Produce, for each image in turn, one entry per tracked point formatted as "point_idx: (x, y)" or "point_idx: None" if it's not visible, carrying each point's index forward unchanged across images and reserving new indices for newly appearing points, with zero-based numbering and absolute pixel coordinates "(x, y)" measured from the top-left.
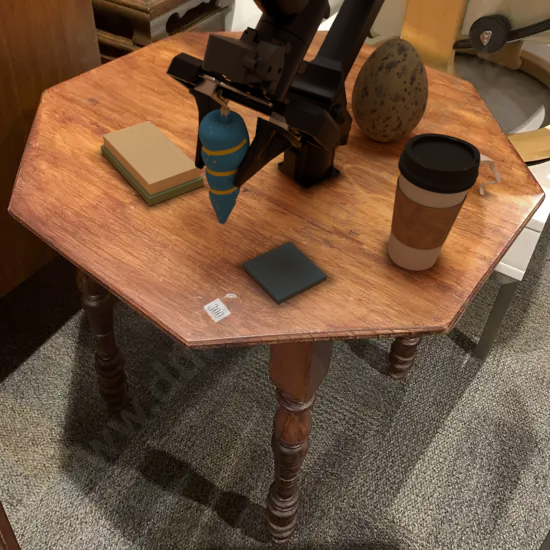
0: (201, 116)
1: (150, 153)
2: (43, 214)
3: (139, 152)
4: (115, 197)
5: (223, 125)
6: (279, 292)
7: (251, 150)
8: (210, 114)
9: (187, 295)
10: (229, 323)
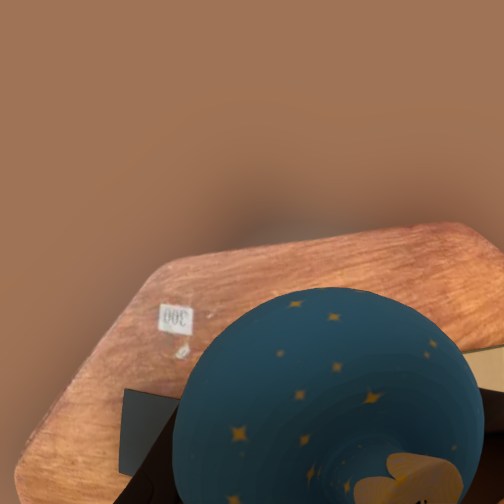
0: (494, 401)
1: (493, 387)
2: (447, 238)
3: (500, 373)
4: (451, 323)
5: (276, 408)
6: (133, 401)
7: (160, 486)
8: (461, 389)
9: (224, 304)
10: (147, 315)
